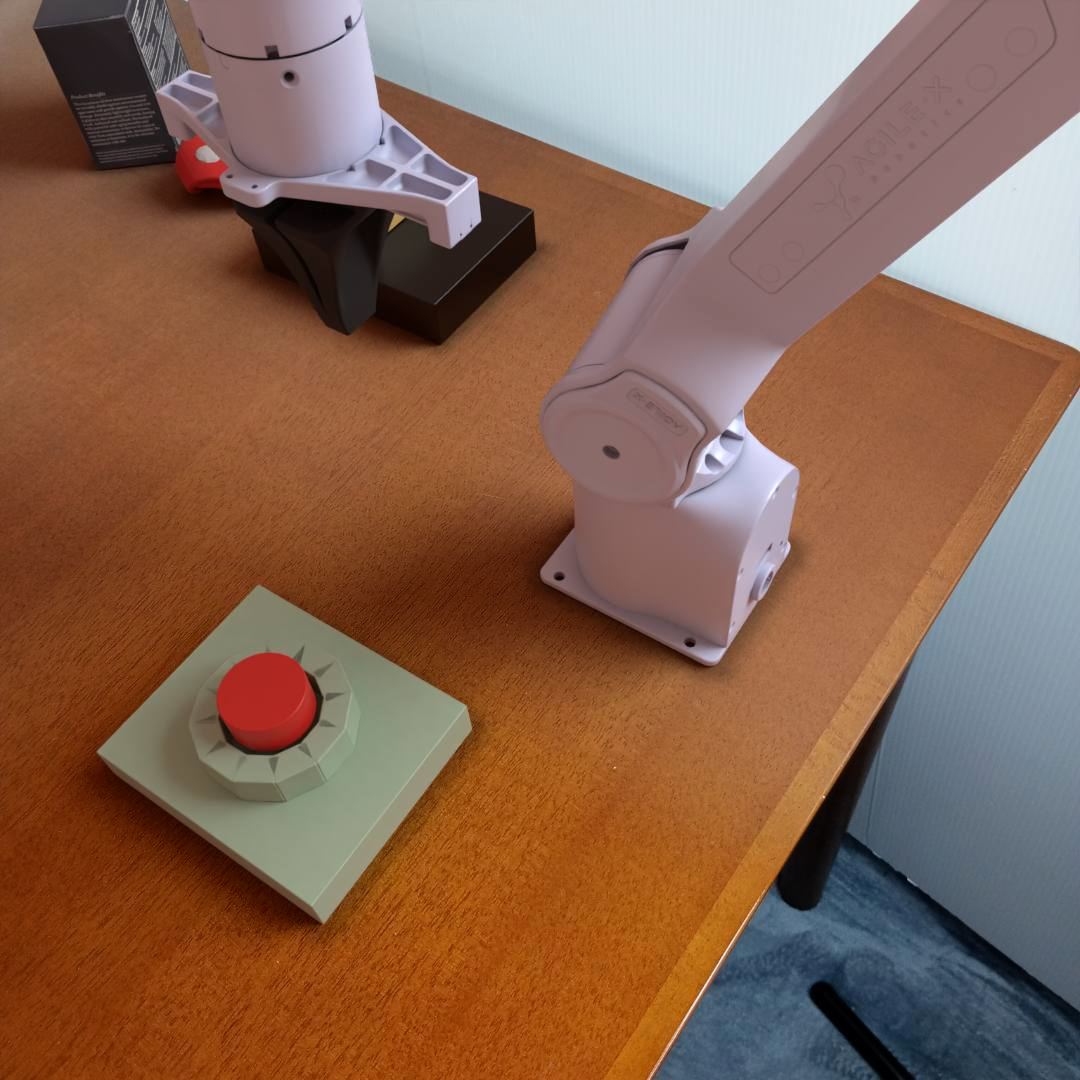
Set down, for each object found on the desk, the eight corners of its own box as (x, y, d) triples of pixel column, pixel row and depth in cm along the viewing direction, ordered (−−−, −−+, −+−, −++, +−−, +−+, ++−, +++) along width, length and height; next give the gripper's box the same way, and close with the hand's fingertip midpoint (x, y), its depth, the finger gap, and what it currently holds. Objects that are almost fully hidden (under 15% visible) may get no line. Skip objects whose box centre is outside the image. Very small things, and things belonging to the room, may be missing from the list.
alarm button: (334, 699, 44) (325, 677, 42) (275, 768, 42) (264, 748, 41) (270, 659, 45) (259, 637, 44) (210, 724, 43) (196, 703, 42)
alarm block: (473, 729, 47) (462, 684, 43) (324, 925, 42) (299, 890, 39) (270, 610, 51) (247, 560, 48) (115, 774, 46) (77, 731, 43)
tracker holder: (352, 164, 71) (207, 187, 66) (344, 215, 75) (206, 240, 70) (276, 50, 76) (135, 64, 71) (272, 103, 79) (137, 120, 74)
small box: (112, 92, 81) (53, -53, 73) (197, 82, 81) (149, -63, 73) (91, 172, 75) (25, 24, 66) (184, 161, 75) (130, 12, 66)
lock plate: (537, 250, 66) (534, 206, 64) (441, 345, 62) (433, 302, 59) (364, 185, 72) (355, 143, 69) (263, 269, 67) (249, 226, 64)
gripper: (50, 16, 38) (171, 312, 48) (369, 135, 32) (425, 437, 43) (192, -66, 41) (276, 229, 52) (502, 30, 36) (523, 335, 47)
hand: (350, 318), depth 48 cm, fingers closed
